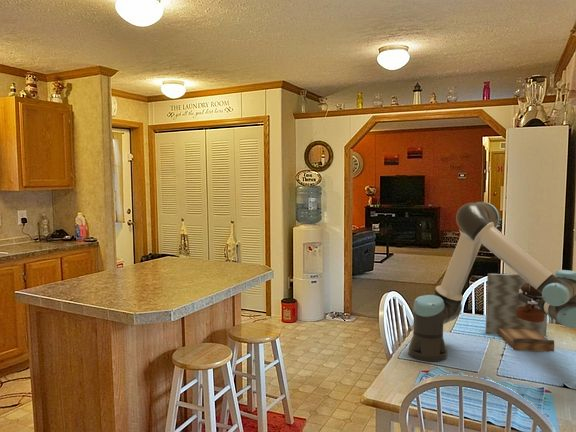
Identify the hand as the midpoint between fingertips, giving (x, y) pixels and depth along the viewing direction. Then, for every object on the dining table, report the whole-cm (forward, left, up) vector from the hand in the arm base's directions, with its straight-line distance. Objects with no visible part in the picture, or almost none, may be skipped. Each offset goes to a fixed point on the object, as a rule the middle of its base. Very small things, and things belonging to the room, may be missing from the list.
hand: (529, 292), depth 201 cm
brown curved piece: (0, -3, -11) cm, 11 cm away
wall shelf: (0, +3, -23) cm, 23 cm away
